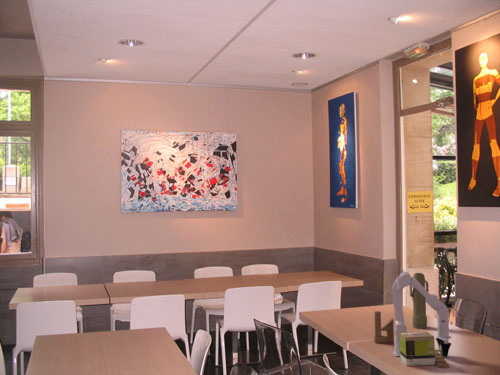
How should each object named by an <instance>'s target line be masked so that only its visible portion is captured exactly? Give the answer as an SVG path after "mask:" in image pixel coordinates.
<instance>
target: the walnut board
mask: <svg viewBox="0 0 500 375" xmlns="http://www.w3.org/2000/svg"><path fill="white" fill-rule="evenodd" d="M435 365H436V367H437V368H443V369H444V368H445V369H446V368H447V369H449V368H450V364H449V363H448V362H447V360H445V358H443V357H442V356H441V355H440V352H435Z"/></svg>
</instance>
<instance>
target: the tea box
mask: <svg viewBox="0 0 500 375" xmlns="http://www.w3.org/2000/svg"><path fill="white" fill-rule="evenodd" d="M435 349H436V347H435V336H434V335H432V334H431V333H429V332H428V331H419V332H418V331H417V332H407V333H400V355H401V356H400V361H401V362H402V363H403V364H404V365H405V366H406V367H410V366H412V367H413V366H434V365H436V364H435Z"/></svg>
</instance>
